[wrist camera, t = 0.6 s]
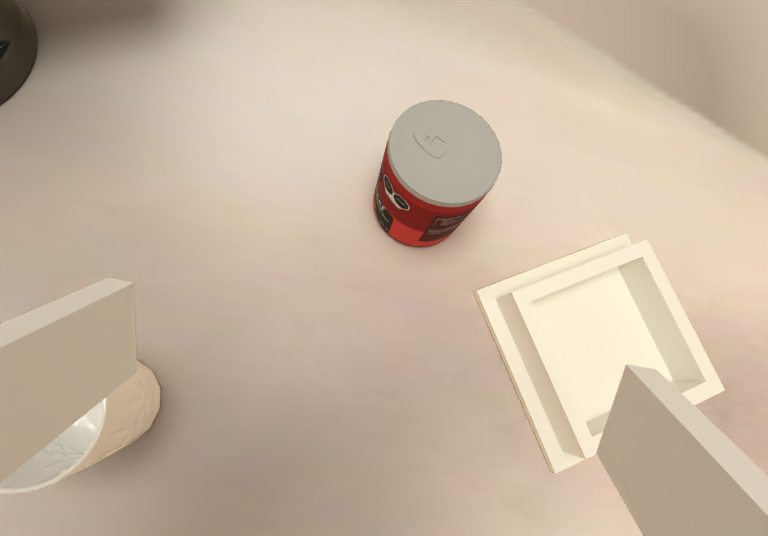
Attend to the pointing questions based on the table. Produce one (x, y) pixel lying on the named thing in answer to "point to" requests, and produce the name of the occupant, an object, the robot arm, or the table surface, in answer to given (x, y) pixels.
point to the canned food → (434, 171)
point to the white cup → (92, 435)
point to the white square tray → (591, 340)
